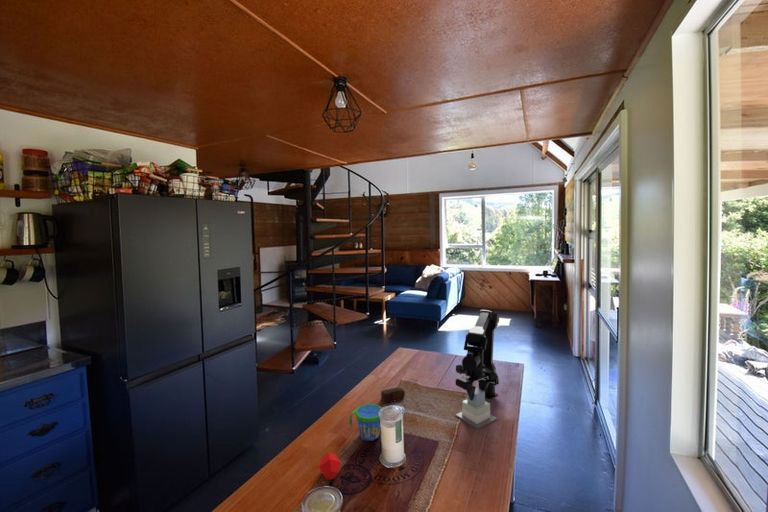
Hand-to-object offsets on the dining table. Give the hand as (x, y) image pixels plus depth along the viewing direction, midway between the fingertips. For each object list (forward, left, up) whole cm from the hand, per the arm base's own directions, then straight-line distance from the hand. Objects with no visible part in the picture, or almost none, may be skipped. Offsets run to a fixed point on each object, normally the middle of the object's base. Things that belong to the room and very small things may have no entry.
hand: (476, 398), depth 137 cm
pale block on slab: (0, 0, -8) cm, 8 cm away
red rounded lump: (+64, -5, -9) cm, 65 cm away
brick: (+20, -33, -9) cm, 39 cm away
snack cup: (+43, -15, -9) cm, 46 cm away
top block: (0, 0, -2) cm, 2 cm away
